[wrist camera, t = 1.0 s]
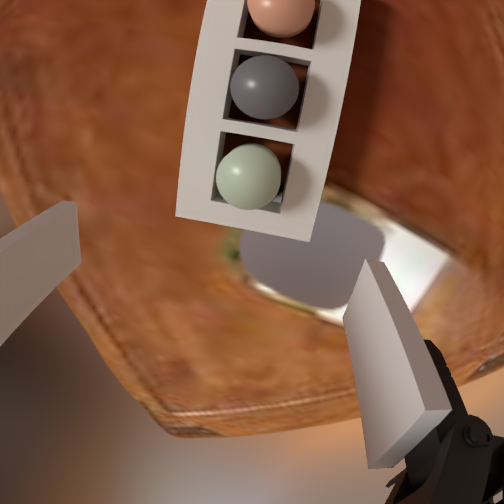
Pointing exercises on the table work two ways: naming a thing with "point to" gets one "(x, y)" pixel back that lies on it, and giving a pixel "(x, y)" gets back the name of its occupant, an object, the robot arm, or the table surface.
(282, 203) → the board
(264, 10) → the button terracotta
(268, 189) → the button sage
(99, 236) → the table surface
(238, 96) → the button charcoal
